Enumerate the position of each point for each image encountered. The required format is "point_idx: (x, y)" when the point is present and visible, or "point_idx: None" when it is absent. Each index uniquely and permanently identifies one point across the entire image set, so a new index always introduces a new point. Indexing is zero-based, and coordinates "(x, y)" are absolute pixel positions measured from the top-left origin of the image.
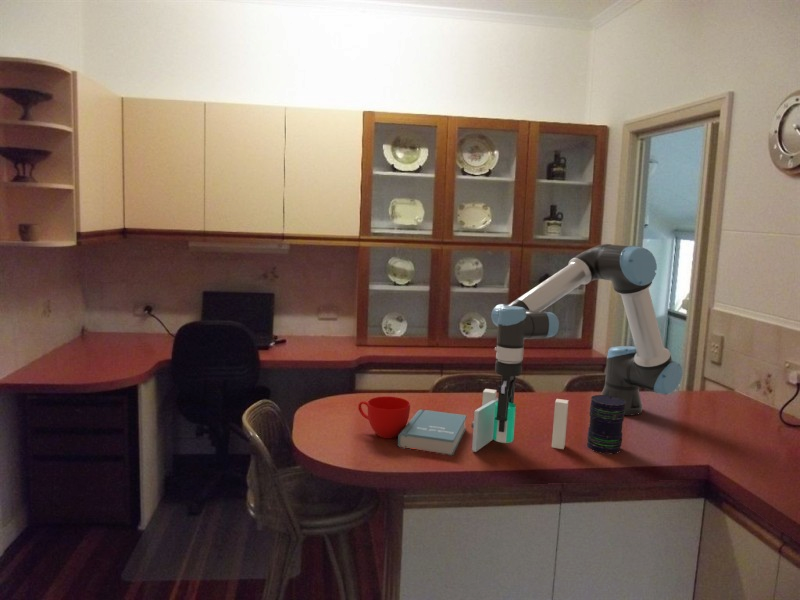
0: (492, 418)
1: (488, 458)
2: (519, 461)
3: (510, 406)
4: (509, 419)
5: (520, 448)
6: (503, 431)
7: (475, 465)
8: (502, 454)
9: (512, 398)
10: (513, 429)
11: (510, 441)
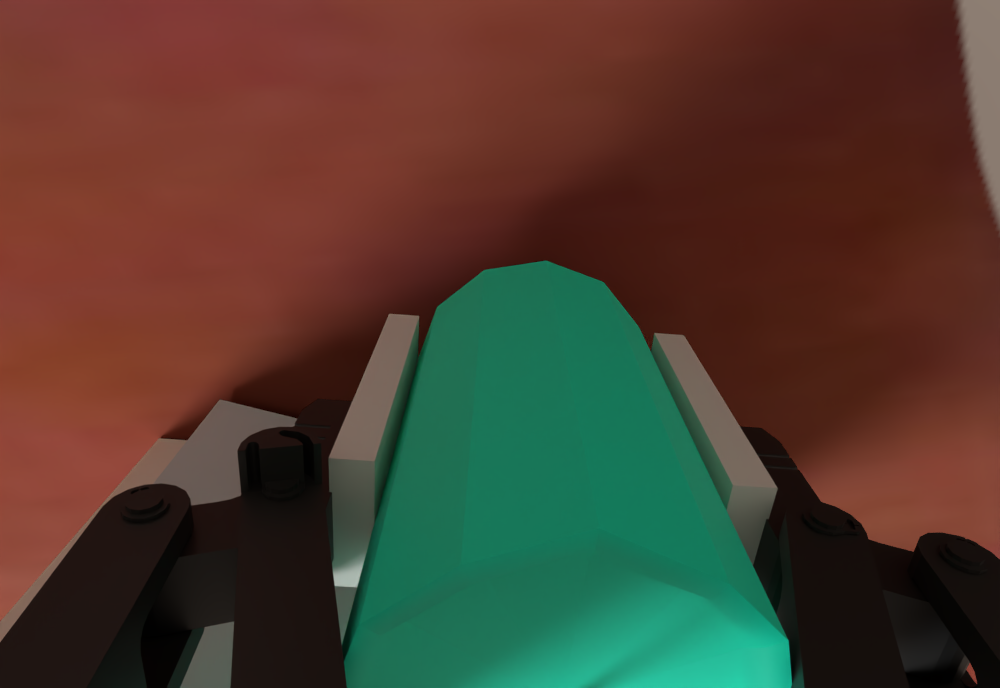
0: (337, 601)
1: (779, 407)
2: (786, 135)
3: (559, 620)
4: (699, 465)
5: (428, 157)
6: (769, 436)
7: (948, 476)
8: (652, 309)
9: (97, 681)
10: (575, 319)
11: (608, 289)
